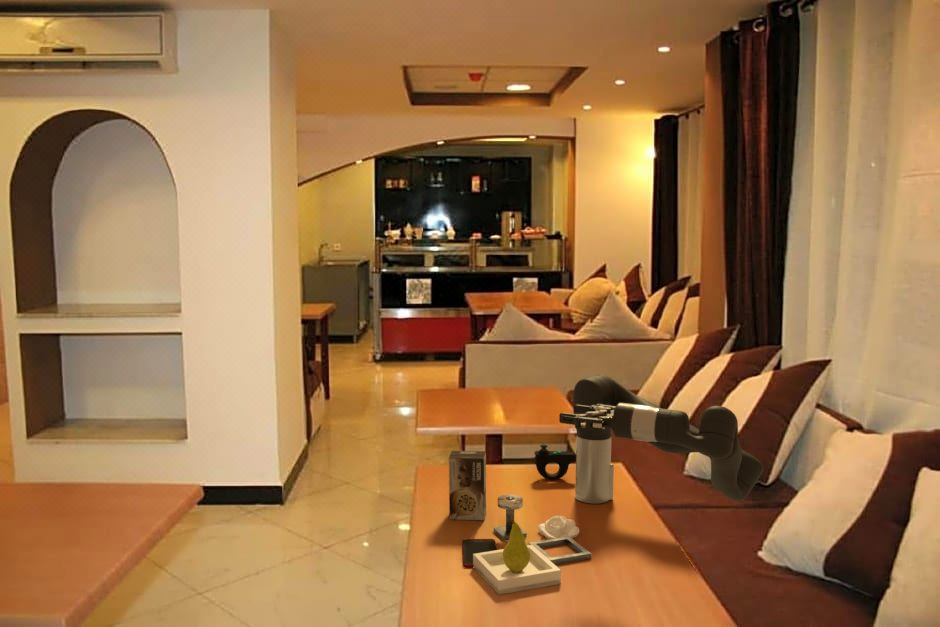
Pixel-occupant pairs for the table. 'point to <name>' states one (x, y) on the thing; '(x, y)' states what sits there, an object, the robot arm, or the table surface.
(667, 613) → the table surface
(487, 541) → the cell phone
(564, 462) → the controller
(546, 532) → the rose
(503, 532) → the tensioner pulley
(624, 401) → the robot arm
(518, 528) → the fruit
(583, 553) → the grey square frame
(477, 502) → the coffee box
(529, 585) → the tray
